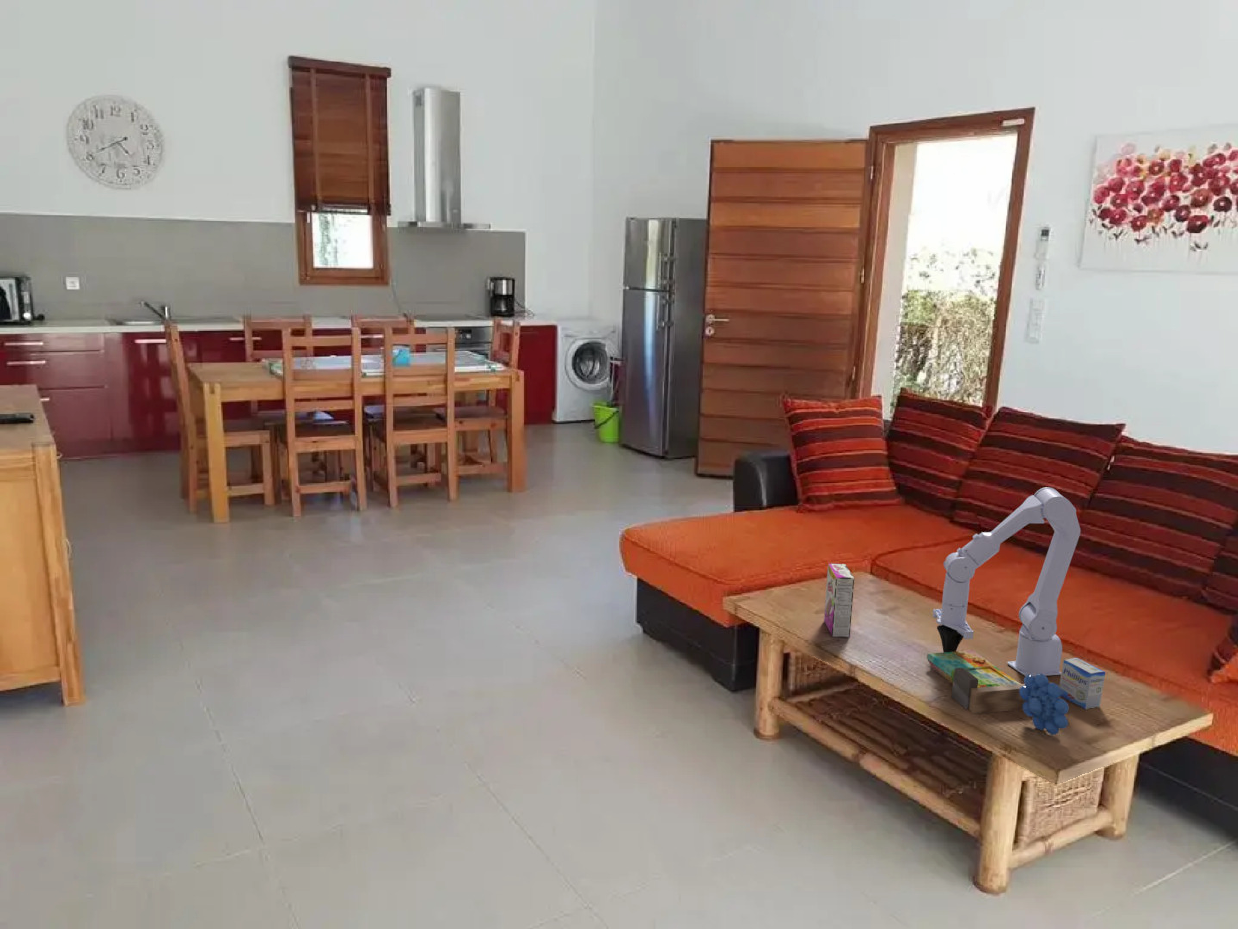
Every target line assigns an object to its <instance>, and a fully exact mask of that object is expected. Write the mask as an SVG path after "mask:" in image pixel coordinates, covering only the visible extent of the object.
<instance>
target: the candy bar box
mask: <svg viewBox="0 0 1238 929" xmlns="http://www.w3.org/2000/svg"><path fill="white" fill-rule="evenodd" d="M826 572H827V573H826V586H825V587H826V588H825V589H826V590H825V602H824V603H825V605H824V615H823V617H824V618H823V621H824V624H825V625H826V627H827V629H828V631H829V633H830V635H831V637H832V638H850V637H851V626H852V614H853V600H854V589H855V588H854V585H855V577H854V575H853V574H852V572H851V571H850V569H849V568H848V566H847V564H845V563H827V570H826Z"/></svg>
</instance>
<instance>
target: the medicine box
mask: <svg viewBox="0 0 1238 929" xmlns="http://www.w3.org/2000/svg"><path fill="white" fill-rule="evenodd" d="M1105 676H1106V671H1105V670H1102V669H1100V668H1097V667H1096V666H1094V665H1092V664H1090V663H1088V662H1086V661H1085V660H1082V659H1080V658H1078V657H1073V658H1066V659H1063V663H1062V668H1061V675H1060V681H1059V685H1058V686H1059V687H1060V689H1061V696H1062V697H1061V696H1060V697H1061V698H1062V699H1063V698H1064V700H1067V699H1068V700H1067V701H1069V700H1070V701H1069V702H1070V703H1072V704H1074V703H1075V705H1076V704H1077V706H1078V705H1079V707H1080V706H1081V708H1082V709H1084V710H1090V709H1089V708H1092V709H1096V708H1095V707H1097V708H1100V707H1101V702H1102V695H1103V689H1104V683H1105ZM1099 706H1100V707H1099Z"/></svg>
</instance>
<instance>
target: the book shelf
mask: <svg viewBox="0 0 1238 929" xmlns="http://www.w3.org/2000/svg"><path fill="white" fill-rule="evenodd" d="M1049 683H1054V681H1049ZM1022 686H1025V684H1024V683H1020V684H1017V685H1005V686H993V687H981V688H977V687H978V679H977V678H976V677H975V676H973V675H972V674H971V673H969V672H968V671H967V670H965V669H964V668H955V671H954V680H953V683H952V691H951V699H953V700H955V702H957V703H958V704H959V705H960V706H962V708H964V709H965V710H969V711H970V712H971V713H972V714H973V715H975V714H987V713H997V711H999V712H1007V711H1009V712H1011V711H1019V710H1020V711H1021V710H1022V711H1023V707H1022V706H1023V703H1024V702H1026V701H1025V700H1023V699H1022V698H1021V696H1020V694H1019V690H1020V688H1021V687H1022Z"/></svg>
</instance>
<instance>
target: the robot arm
mask: <svg viewBox="0 0 1238 929" xmlns="http://www.w3.org/2000/svg"><path fill="white" fill-rule="evenodd" d="M1044 519H1046V520H1047V522H1048V523H1049V525H1050V526H1051V527H1052V529H1053V531H1054V533H1053V536H1052V539H1051V541H1050V543H1049V547H1048V550H1047V553H1046V555H1045V559H1044V562H1043V565H1042V569H1041V570H1040V571H1041V572H1040V574H1039V577H1038V580H1037V582H1036V585H1035V588H1034V591H1033V593H1031V594H1030V595H1028V597H1027V600H1026V602H1025V603H1024V604H1023V605H1022V606H1021V608H1020V609H1019V611H1018V618H1019V621H1020V623H1022V625H1021V627H1020V628H1019V633H1018V641H1017V648H1016V649H1017V650H1016V658H1015V660H1013V661H1012V660H1011V661H1007V665H1009V666H1010V667H1011V668H1013V669H1014V670H1016V671H1017V672H1019V673H1020V674H1022V675H1023V676H1024V677H1026V676H1027V675H1032V676H1034V677H1035V676H1036V675H1037V674H1043V675H1045V676H1046V677H1048V676H1059V675H1060V676H1061V673H1062V671H1061V670H1060V667H1061V662H1062V661H1061V660H1062V654H1063V643H1062V641H1061V638H1060V637H1059V636H1058V635H1057V634H1056V632H1057V629H1058V625H1057V618H1058V613H1059V611H1058V599H1059V595H1060V593H1061V591H1062V590H1061V589H1063V585H1064V582H1065V578H1066V575H1067V572H1068V570H1069V567H1070V565H1071V561H1072V559H1073V555H1074V553H1075V550H1076V547H1077V545H1078V541H1079V538H1080V535H1081V531H1082V530H1081V527H1080V522H1079V520H1078V517H1077V509H1076V507H1075V506H1074V505H1073V504H1072V502H1071V501H1070V500H1069V499H1067V498H1066V497H1064V496H1063V495H1062V494H1060V492H1059V491H1057V489H1055V488H1053V487H1049V486H1048V487H1047V486H1046V487H1042V488H1040V489H1038V490H1037V491H1036V492H1035V493H1034V495H1033V494H1031V495H1030V496H1028V497H1027V498H1026V499H1025V500H1024V501H1023V503H1021V505H1020V506H1019V507H1017V508H1016V509H1015V510H1014V511H1013V512H1012V513H1011V514H1009V515H1008V516H1007V517H1006V518H1005V519H1003V520H1002V522H1000V523H999V524H998V525H997V526H996V527H995V528H994V529H993V530H991V531H988V532H987V531H984V532H983V531H981V533H979V534H978V533H975V534H974V535H972V540H971V541H969V542H968V543H966V544H965V545H964V546H963V547H962V548H960V547H958V548H957V550H956V552H952V553H950V554H948V555H947V556H946V558H945V561H943V567H944V568H943V569H945V571H946V572H945V577H944V583H943V590H942V602H941V608H935V609H934V608H933V609H932V617H933V618H934V619H935V620H936V621H935V623H936V624H938V625H937V626H936V629H937V631H938V634H939V637H940V640H941V645H942V653H943V652H954V651H958V649H959V646H960V643H961V642H962V641H963V639H964V640H973V639H974V632H975V631H974V630H973V629H971V626H970V625H969V624H968V622H967V620H966V618H967V611H968V602H969V593H970V581H971V579H973V577H974V575H975V573H976V569H978V568H979V567H982V565H983V564H984V563H985V562H986V563H987V561H989V560H990V559H991V558H993V556H995V555H996V554H997V553H999V552H1000V548H1001V547H1000V546H1001V543H1003V542H1005V541H1006V540H1007V539H1008V538H1010V537H1012V536H1013V535H1015V534H1016V533H1017V532H1019V531H1020V530H1021V529H1023V528H1024V527H1025V526H1027V525H1029V524H1045V523H1046V522H1045V520H1044Z"/></svg>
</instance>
